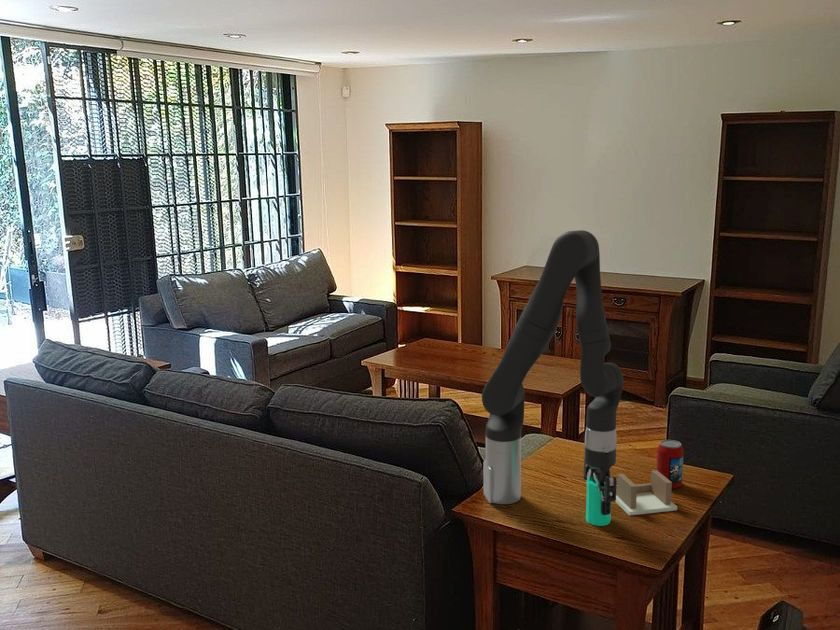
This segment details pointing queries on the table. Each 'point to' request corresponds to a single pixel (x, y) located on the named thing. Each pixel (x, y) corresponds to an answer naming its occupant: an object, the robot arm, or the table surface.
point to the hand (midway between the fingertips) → (598, 506)
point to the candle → (595, 505)
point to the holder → (644, 495)
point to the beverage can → (671, 461)
